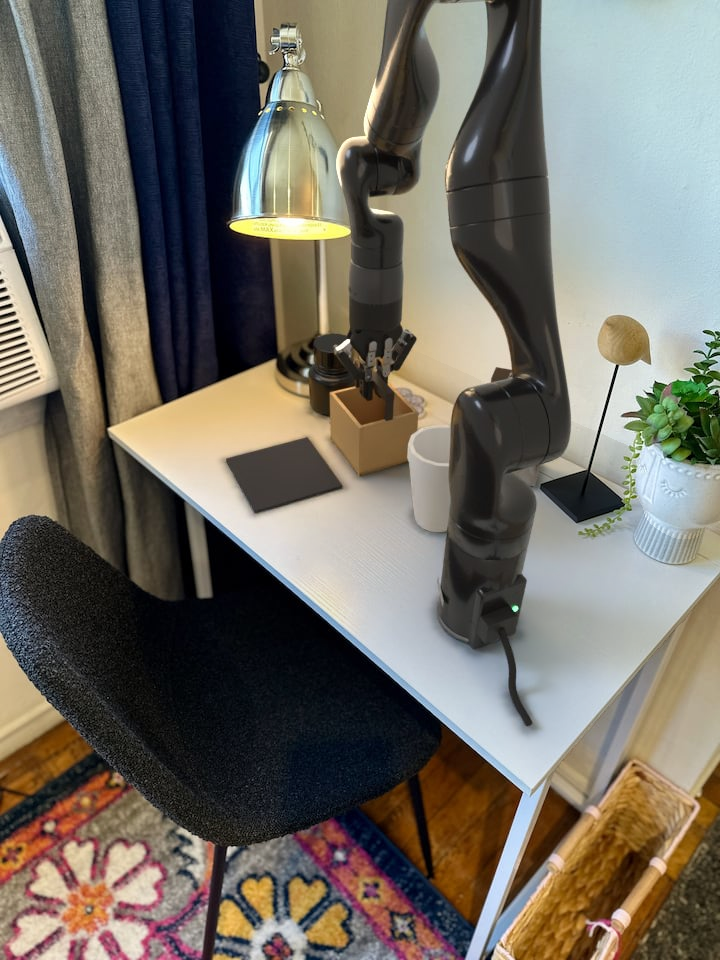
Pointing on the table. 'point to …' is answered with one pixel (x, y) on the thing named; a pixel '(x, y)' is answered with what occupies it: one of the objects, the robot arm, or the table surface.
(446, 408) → the table surface
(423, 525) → the foam cup
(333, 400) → the handled storage bin
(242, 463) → the bin mat
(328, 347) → the ink bottle
